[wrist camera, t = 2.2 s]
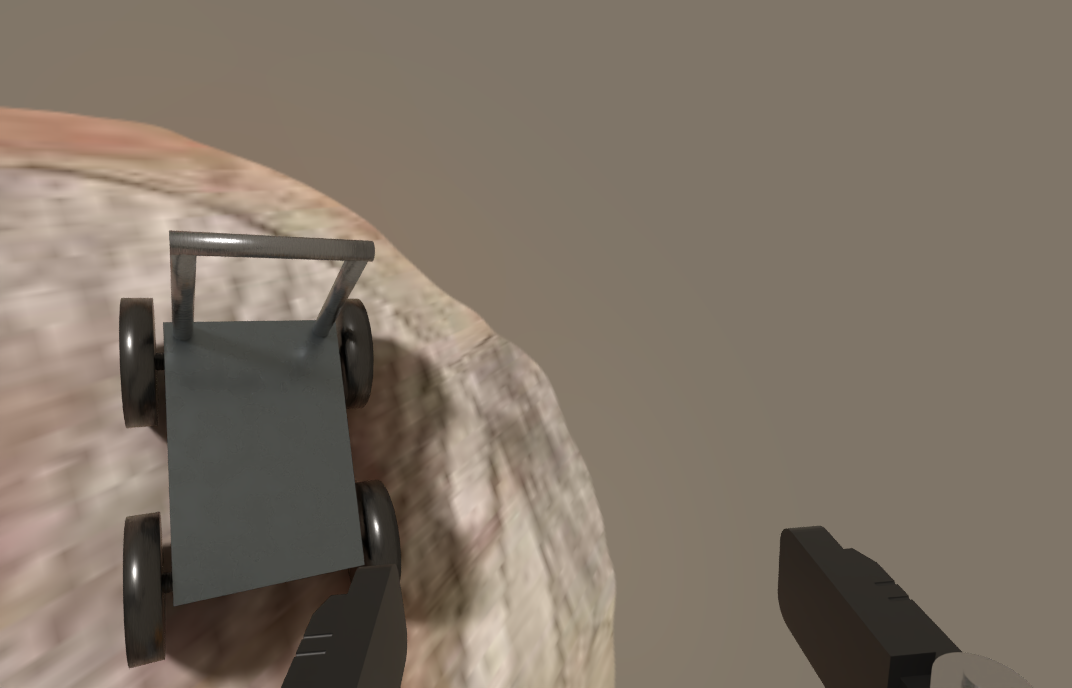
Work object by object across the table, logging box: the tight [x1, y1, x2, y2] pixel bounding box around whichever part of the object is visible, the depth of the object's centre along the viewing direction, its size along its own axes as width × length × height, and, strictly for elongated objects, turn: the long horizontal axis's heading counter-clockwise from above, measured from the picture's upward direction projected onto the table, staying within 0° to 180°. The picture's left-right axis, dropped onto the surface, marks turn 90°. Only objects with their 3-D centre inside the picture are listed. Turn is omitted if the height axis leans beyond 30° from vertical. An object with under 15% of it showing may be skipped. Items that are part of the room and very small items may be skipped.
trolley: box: [119, 231, 401, 668], centre depth 53 cm, size 32×21×29 cm
